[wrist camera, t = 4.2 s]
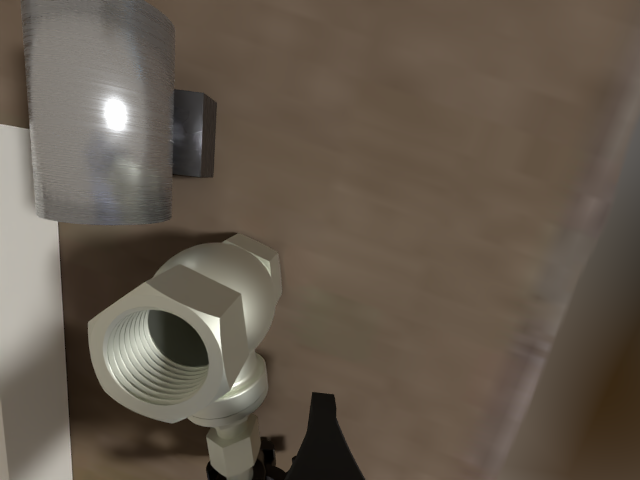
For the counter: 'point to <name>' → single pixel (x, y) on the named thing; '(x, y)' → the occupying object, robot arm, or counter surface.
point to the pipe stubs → (109, 112)
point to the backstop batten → (30, 327)
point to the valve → (198, 349)
